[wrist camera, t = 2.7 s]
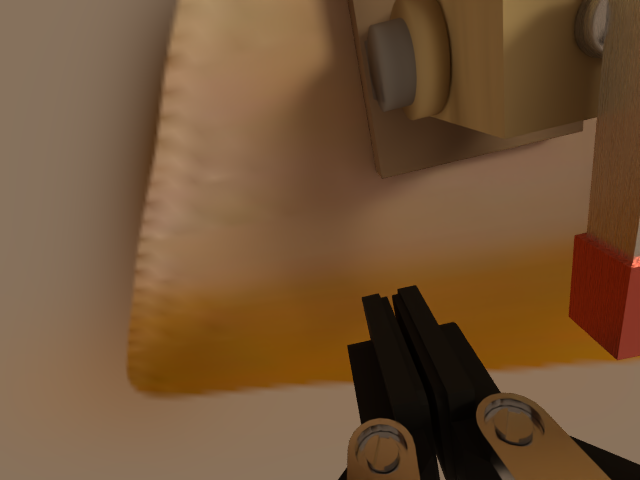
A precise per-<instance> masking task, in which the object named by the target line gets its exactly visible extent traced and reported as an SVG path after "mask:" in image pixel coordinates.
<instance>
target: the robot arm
mask: <svg viewBox="0 0 640 480" xmlns="http://www.w3.org/2000/svg"><path fill="white" fill-rule="evenodd" d="M392 300H393V305H394V311H395V315H394V313H393V310H392V308H391V305H390V303H389V300H388V298H387V297H382V298H381V297H380V295H379V293H378V294H374V295H370V296H365V297H362V302H363V306H364V311H365V316H366V320H367V325H368V329H369V334H370V338H371V340H369V341H365V342H360V343H356V344H351V345H347V346H348V353H349V358H350V364H351V370H352V375H353V381H354V386H355V391H356V398H357V403H358V409H359V414H360V420H361V425H360V426H359V427H358V428H357V429H356V430H355V431H354V433H353V434H352V436H351V438H350V440H349V445H348V454H347V455H348V456H347V468H346V470H345V471H344V472H343V474H342V475H341V476H340V478H339V479H338V480H440V477H439V470H438V464H437V458H438V460H439V462H440V465H441V468H442V471H443V474H444V477H445V479H446V480H640V465H639V464H637V463H634V462H632V461H629V460H627V459H625V458H622V457H620V456H617V455H615V454H612V453H610V452H608V451H605V450H603V449H600V448H598V447H596V446H593V445H591V444H588V443H586V442H584V441H581V440H579V439H576V438H574V437H572V436H569V435H568V434H567V433H566V432H565V431H564V430H563V429H562V428H561V427H560V426H559V425H558V424H557V423H556V422H555V421H554V419H552V417H550V415H549V414H548V413H547V412H546V411H545V410H544V409H543V408H542V407H540V406H539V405H538V404H537V403H535V402H534V401H532V400H530V399H528V398H526V397H524V396H521V395H517V394H513V393H501V392H500V391H499V389H498V388H497V386H496V385H495V383H494V382H493V380H492V378H491V377H490V375H489V374H488V372H487V370H486V369H485V367H484V366H483V364H482V363H481V361H480V360H479V358H478V356H477V355H476V353H475V352H474V350H473V349H472V347H471V346H470V344H469V343H468V341H467V339H466V338H465V336H464V335H463V333H462V332H461V330H460V329H459V327H458V326H457V324H456V323H454V322H451V323H447V324H442V325H438V323H437V321H436V320H435V318H434V316H433V314H432V313H431V311H430V309H429V307H428V306H427V304H426V302H425V300H424V298H423V297H422V295H421V293H420V291H419V290H418V288H417V286H416V285H414V286H409V287H405V288H401V289H398V294H396V295H392ZM395 317H396V318H395ZM436 455H437V457H436Z"/></svg>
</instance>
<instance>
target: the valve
mask: <svg viewBox="0 0 640 480" xmlns="http://www.w3.org/2000/svg"><path fill="white" fill-rule="evenodd" d="M582 1H583V0H348V5H349V11H350V17H351V23H352V29H353V35H354V41H355V47H356V53H357V59H358V64H359V70H360V76H361V82H362V88H363V94H364V100H365V106H366V112H367V118H368V124H369V130H370V136H371V142H372V147H373V153H374V159H375V165H376V171H377V173H378V174H379V175H380V177H381V178H382V179H383V178H387V177H391V176H395V175H400V174H404V173H408V172H412V171H416V170H421V169H425V168H429V167H433V166H437V165H442V164H446V163H450V162H454V161H458V160H463V159H467V158H471V157H475V156H479V155H484V154H488V153H492V152H496V151H500V150H505V149H509V148H513V147H517V146H522V145H526V144H530V143H534V142H538V141H543V140H547V139H551V138H555V137H559V136H564V135H568V134H572V133H576V132H580V131H583V120H587V119H591V118H595V117H597V113H598V102H599V90H600V79H601V68H602V58H592V57H589V56H587V55H585V54H584V53H583V52H582V51H581V50H580V49H579V47H578V46H577V44H576V41H575V37H574V21H575V17H576V14H577V11H578V8H579V6H580V4H581V2H582Z"/></svg>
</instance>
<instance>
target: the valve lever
mask: <svg viewBox="0 0 640 480" xmlns="http://www.w3.org/2000/svg"><path fill="white" fill-rule="evenodd" d="M574 37H575V41H576V44H577V46H578V47H579V49H580V50H581V51H582V52H583V53H584V54H585V55H587V56H589V57H592V58H602V68H601V79H600V90H599V102H598V113H597V124H596V135H595V147H594V158H593V169H592V180H591V191H590V203H589V214H588V225H587V233H583V234H579V235H575V238H574V252H573V265H572V279H571V292H570V306H569V317H570V318H571V319H572V320H573V321H574V322H575V323H577V324H578V325H579V326H580V327H581V328H582V329H583V330H584V331H585V332H587V333H588V334H589V335H590V336H591V337H592V338H593V339H594V340H595V341H597V342H598V343H599V344H600V345H601V346H602V347H603V348H604V349H605V350H607V351H608V352H609V353H610V354H611V355H612V356H613V357H614V358H615V359H617V360H620V359H625V358H630V357H635V356H640V0H583V1H582V2H581V4H580V6H579V8H578V11H577V14H576V17H575V21H574Z"/></svg>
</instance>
